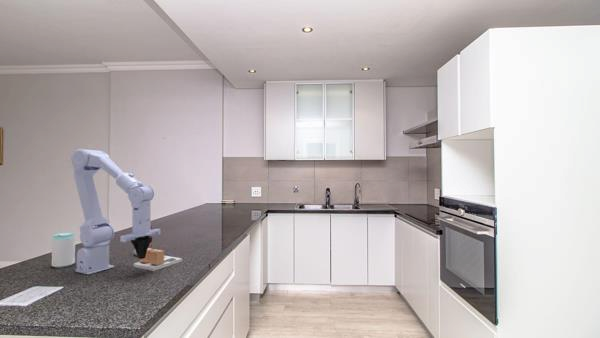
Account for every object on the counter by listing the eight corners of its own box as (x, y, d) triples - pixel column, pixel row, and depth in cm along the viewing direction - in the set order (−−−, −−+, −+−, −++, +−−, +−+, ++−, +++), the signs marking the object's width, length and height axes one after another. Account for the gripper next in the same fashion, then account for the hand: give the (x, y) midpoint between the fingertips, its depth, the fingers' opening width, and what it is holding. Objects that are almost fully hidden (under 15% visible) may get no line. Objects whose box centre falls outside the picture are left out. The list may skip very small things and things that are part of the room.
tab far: (146, 262, 116) (146, 250, 116) (139, 261, 118) (139, 248, 118) (153, 260, 119) (153, 248, 119) (146, 259, 120) (146, 247, 120)
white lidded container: (62, 269, 114) (62, 236, 114) (46, 267, 115) (46, 235, 115) (79, 263, 120) (79, 232, 121) (64, 262, 122) (64, 231, 122)
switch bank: (153, 271, 111) (153, 267, 111) (133, 266, 116) (133, 263, 116) (181, 261, 123) (181, 258, 123) (162, 258, 128) (162, 254, 128)
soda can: (155, 252, 137) (155, 222, 137) (145, 256, 130) (145, 225, 130) (140, 251, 138) (140, 222, 138) (129, 256, 131) (129, 225, 131)
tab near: (157, 264, 114) (157, 251, 114) (149, 263, 115) (149, 250, 115) (163, 262, 116) (164, 249, 116) (156, 261, 118) (156, 248, 118)
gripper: (130, 224, 102) (130, 265, 102) (166, 217, 115) (166, 254, 115) (116, 222, 105) (116, 262, 105) (153, 216, 118) (153, 252, 118)
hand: (141, 258), depth 110 cm, fingers closed
